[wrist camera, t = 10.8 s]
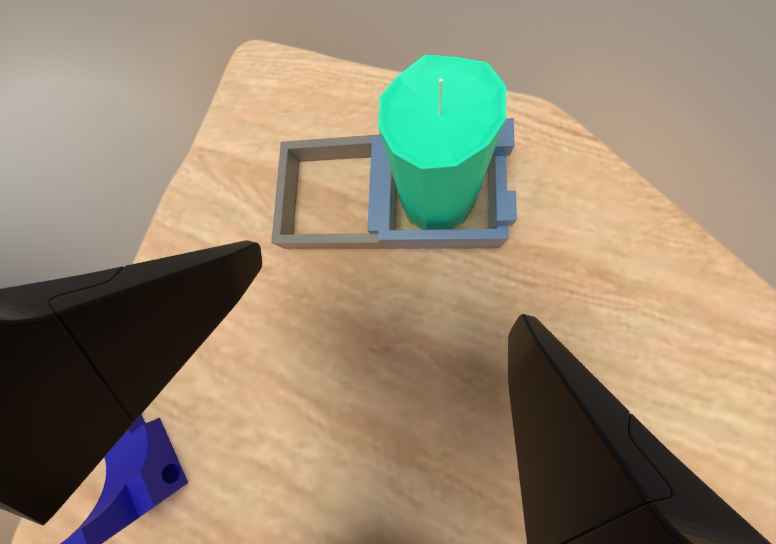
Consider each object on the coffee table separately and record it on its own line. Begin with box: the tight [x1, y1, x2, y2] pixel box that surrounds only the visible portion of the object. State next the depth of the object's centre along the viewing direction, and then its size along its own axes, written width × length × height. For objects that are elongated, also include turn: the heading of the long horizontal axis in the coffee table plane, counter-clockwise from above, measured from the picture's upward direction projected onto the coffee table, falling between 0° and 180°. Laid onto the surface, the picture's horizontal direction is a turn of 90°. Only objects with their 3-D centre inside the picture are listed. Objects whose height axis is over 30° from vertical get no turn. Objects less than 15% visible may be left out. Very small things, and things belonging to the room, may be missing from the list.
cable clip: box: [61, 415, 188, 544], centre depth 22 cm, size 12×4×6 cm, turn 36°
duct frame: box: [272, 118, 517, 249], centre depth 22 cm, size 18×9×4 cm, turn 88°
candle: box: [378, 55, 506, 230], centre depth 17 cm, size 6×6×12 cm
